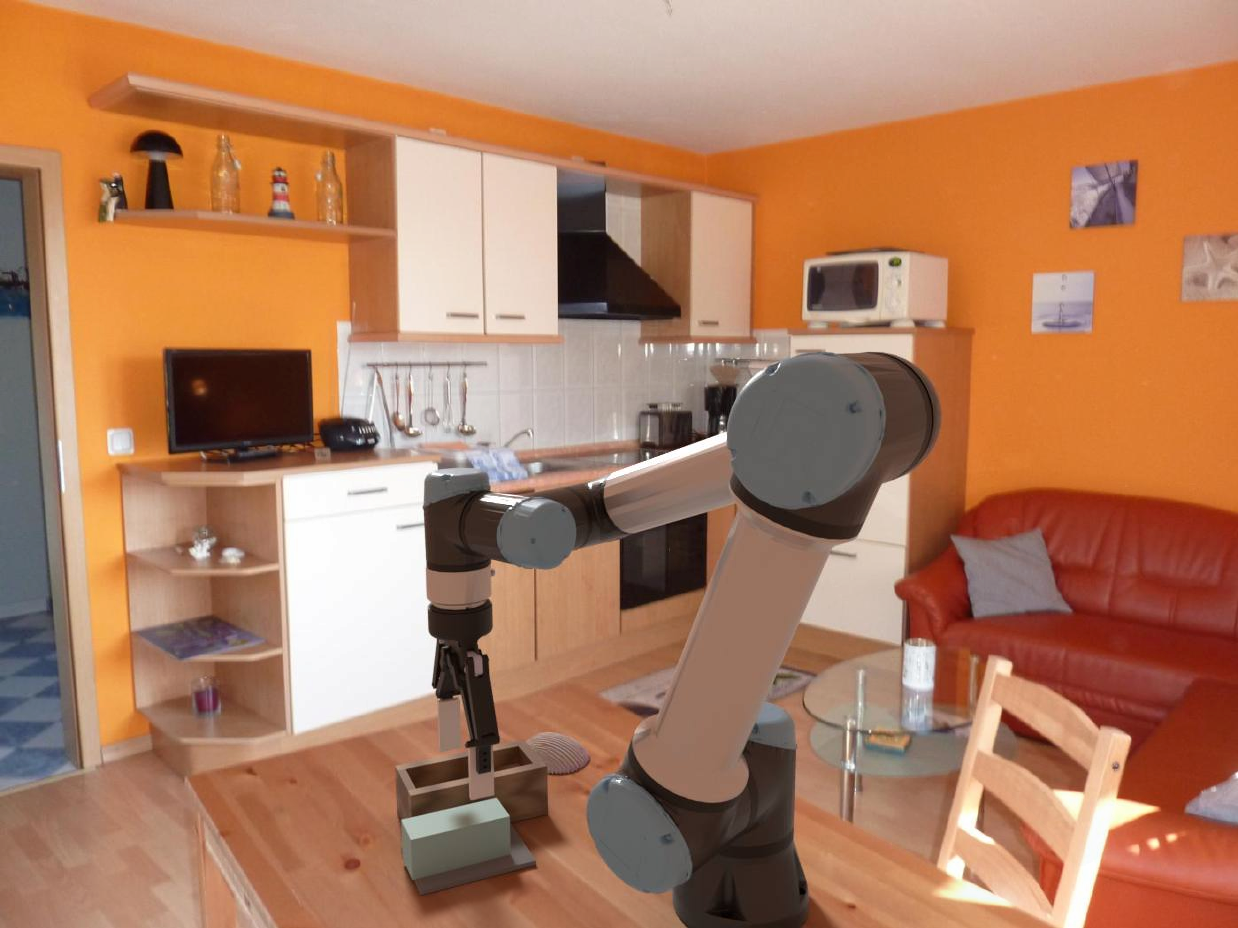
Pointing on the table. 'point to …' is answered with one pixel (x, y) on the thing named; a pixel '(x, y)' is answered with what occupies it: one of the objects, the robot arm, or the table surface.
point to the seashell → (559, 752)
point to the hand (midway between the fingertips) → (465, 771)
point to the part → (455, 838)
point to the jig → (448, 783)
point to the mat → (480, 868)
